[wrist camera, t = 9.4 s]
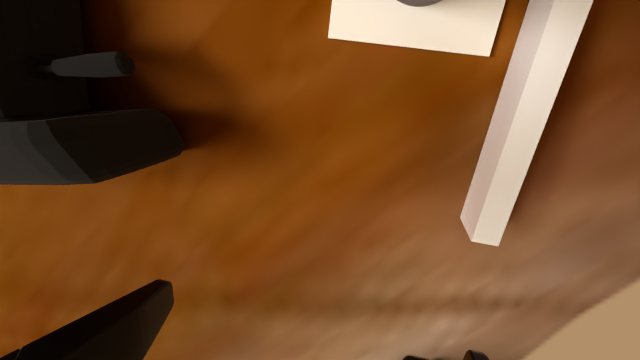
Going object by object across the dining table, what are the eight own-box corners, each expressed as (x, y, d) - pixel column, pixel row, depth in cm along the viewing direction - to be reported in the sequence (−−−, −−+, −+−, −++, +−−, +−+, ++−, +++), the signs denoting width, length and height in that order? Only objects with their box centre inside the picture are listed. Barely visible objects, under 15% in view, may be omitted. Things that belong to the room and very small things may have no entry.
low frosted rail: (483, 221, 21) (498, 246, 18) (460, 217, 21) (471, 241, 18) (578, -46, 15) (620, -69, 13) (545, -49, 16) (579, -72, 13)
